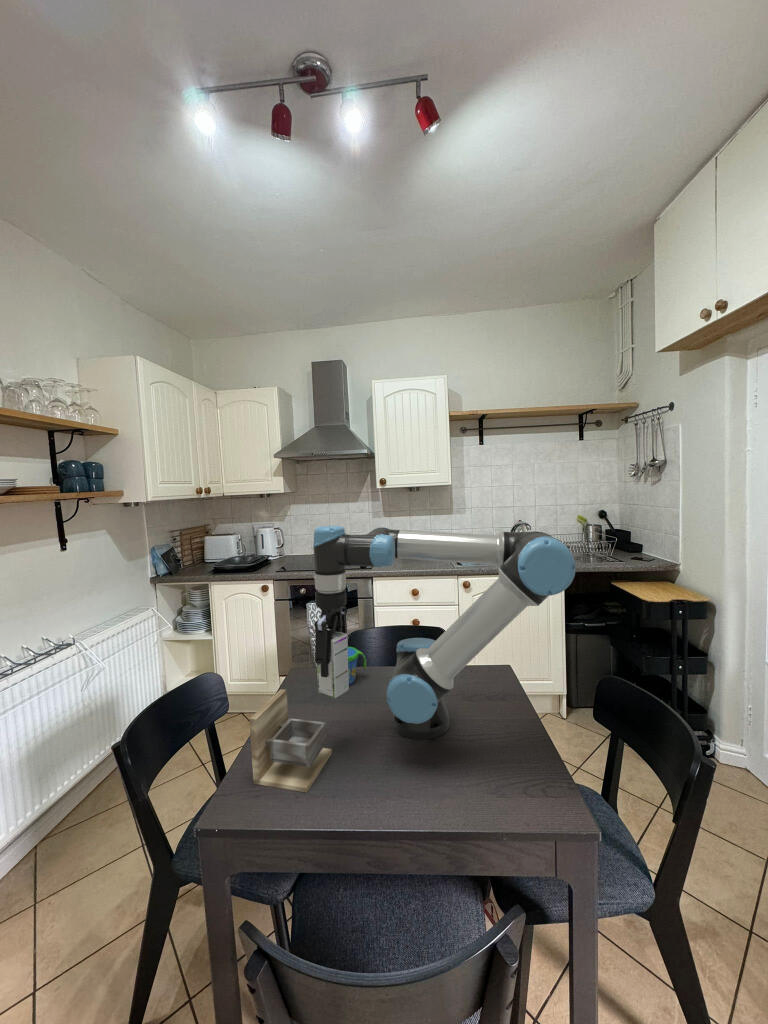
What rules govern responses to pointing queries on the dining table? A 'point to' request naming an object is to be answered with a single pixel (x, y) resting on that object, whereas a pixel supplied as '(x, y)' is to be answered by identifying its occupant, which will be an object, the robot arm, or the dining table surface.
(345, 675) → the syrup box
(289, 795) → the dining table surface
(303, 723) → the wooden caddy with bin
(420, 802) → the dining table surface
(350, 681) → the snack cup
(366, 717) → the dining table surface
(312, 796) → the dining table surface
